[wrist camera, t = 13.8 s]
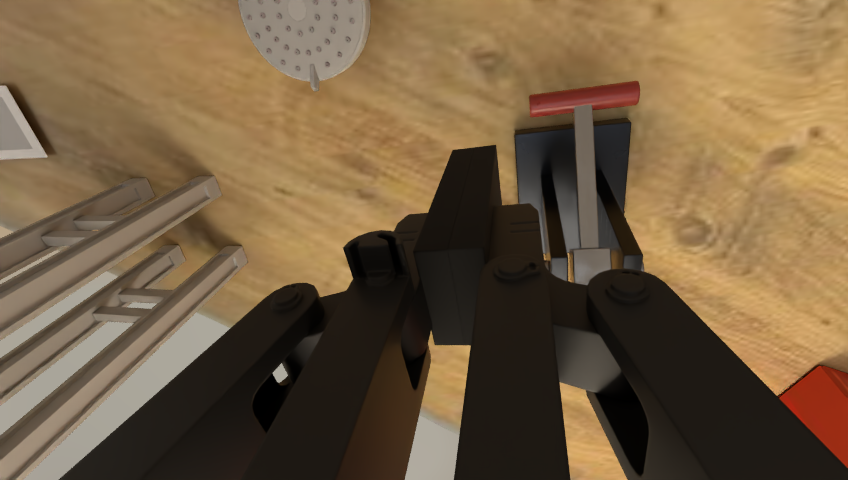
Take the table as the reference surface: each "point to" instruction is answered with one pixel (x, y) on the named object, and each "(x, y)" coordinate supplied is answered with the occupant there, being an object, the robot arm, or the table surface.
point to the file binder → (823, 407)
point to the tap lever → (586, 164)
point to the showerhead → (308, 35)
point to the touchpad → (16, 131)
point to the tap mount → (556, 190)
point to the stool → (96, 303)
